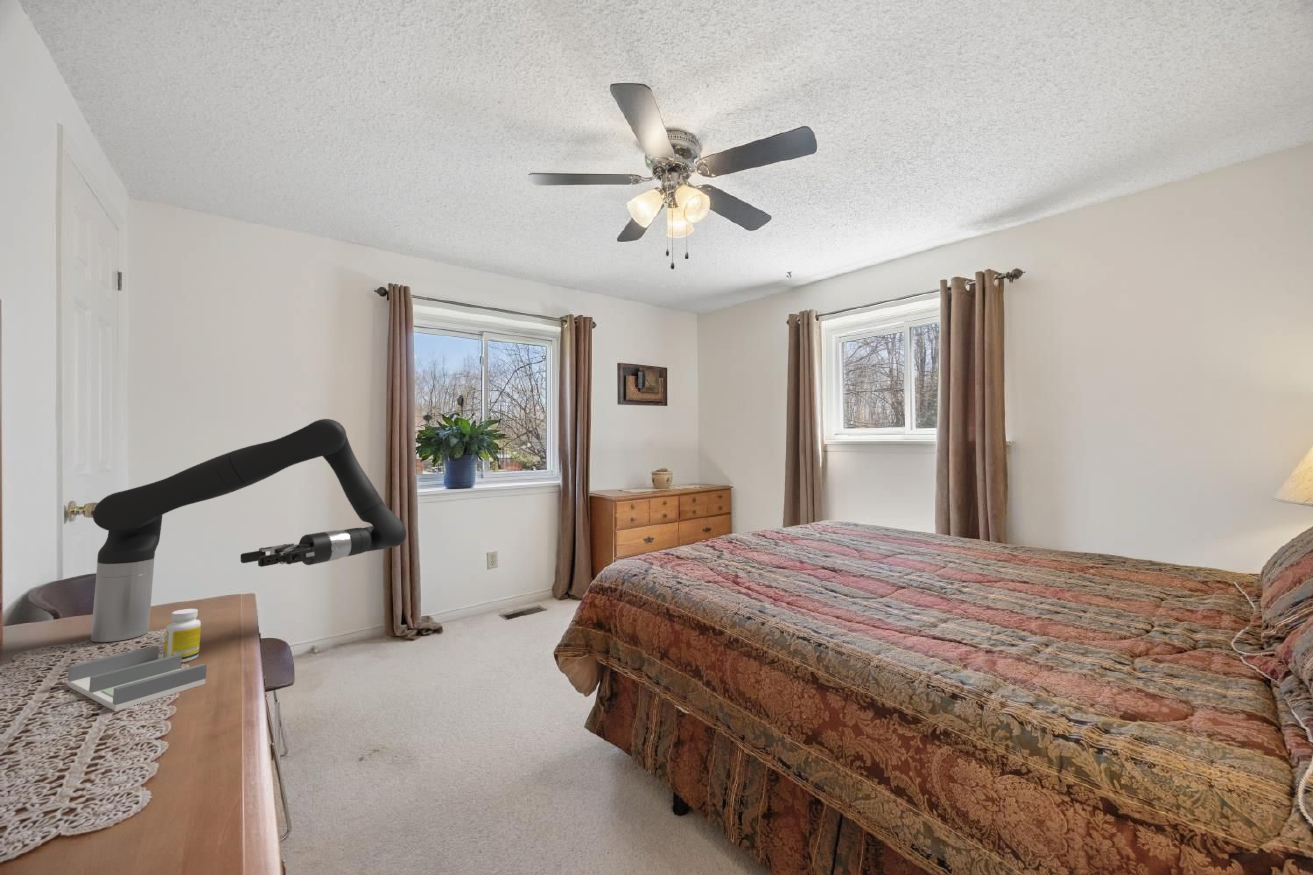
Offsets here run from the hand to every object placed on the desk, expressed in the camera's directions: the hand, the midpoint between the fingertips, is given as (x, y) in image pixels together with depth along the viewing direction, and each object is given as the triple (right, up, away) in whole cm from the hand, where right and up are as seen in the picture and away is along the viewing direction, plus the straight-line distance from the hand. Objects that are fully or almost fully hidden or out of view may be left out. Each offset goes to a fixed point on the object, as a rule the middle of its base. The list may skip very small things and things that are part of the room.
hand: (249, 560), depth 116 cm
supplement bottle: (-6, -18, -11) cm, 22 cm away
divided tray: (-3, -17, -23) cm, 29 cm away
